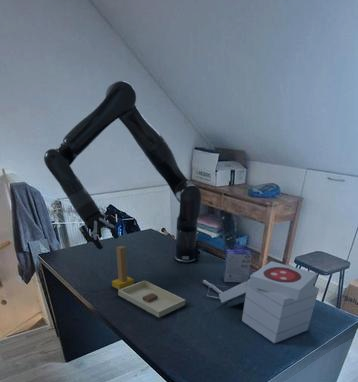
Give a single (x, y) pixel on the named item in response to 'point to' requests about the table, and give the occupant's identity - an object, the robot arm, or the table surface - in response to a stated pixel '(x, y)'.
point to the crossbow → (212, 288)
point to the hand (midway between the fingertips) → (109, 243)
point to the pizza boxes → (277, 300)
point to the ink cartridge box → (237, 265)
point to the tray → (156, 307)
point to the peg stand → (122, 270)
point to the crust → (150, 297)
